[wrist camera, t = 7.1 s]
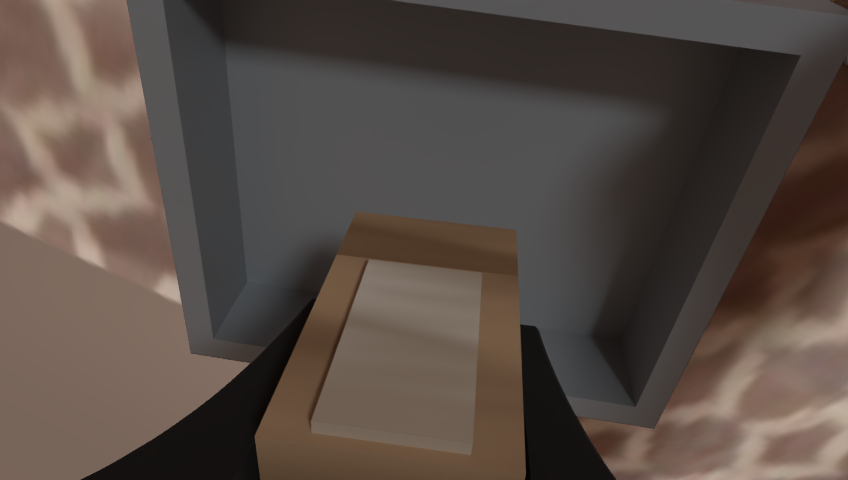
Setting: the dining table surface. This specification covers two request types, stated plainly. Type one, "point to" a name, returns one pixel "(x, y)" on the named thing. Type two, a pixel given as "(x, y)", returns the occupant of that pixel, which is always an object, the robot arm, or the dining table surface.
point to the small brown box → (405, 361)
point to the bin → (484, 156)
